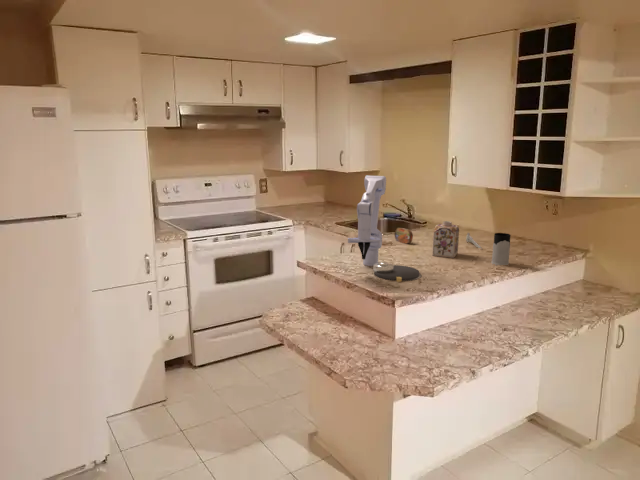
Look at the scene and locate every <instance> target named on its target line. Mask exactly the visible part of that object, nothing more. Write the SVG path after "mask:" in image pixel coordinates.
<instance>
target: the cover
mask: <svg viewBox="0 0 640 480" xmlns="http://www.w3.org/2000/svg"><path fill="white" fill-rule="evenodd" d="M394 265H395V264H392V263H388V262H386V261H380V262H378V263H375V264H374V265H373V266H372V267H373V268H372V269H373V271H372V272H373V273H374V272H377V273H392V272H393V269H394Z"/></svg>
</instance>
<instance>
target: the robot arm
mask: <svg viewBox="0 0 640 480" xmlns="http://www.w3.org/2000/svg"><path fill="white" fill-rule="evenodd" d="M363 183H364V184H363V185H364V190H365V192H363V194H362V197H361V200H360V202H359V203H357V205H356V214H357V215H356V216H357V219H358V220H357V221H358V222H357V237H347V243H348V244H357V245H358V246H357V247H358V249H359V250H360V254H361V260H363V262H362V265H364V266H368V267H373V265H374V264H375V263H379V250H380V249H381V248H382V245H383V233H382V232H381V230H379V229H378V221H379V214H380V213H379V212H380V204H381V203H380V202H381V197H382V196H383V195H385V193H386V189H387V188H386V187H387V177H386V176H385V175H365V177H364V182H363Z"/></svg>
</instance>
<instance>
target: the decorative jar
mask: <svg viewBox="0 0 640 480" xmlns="http://www.w3.org/2000/svg"><path fill="white" fill-rule="evenodd" d="M432 232H433V239H432V253H431V254H432V257H439V258H440V257H443V258H451V259H454V258H455V257H456V256H457V255H458V252H459V239H460V236H459V235H460V227H459V226H458V225H456V224H453V223H452V221H447V220H446V221H445V220H444V221H442V223H439V224H436V225H435V227H434V229H433V231H432Z"/></svg>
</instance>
